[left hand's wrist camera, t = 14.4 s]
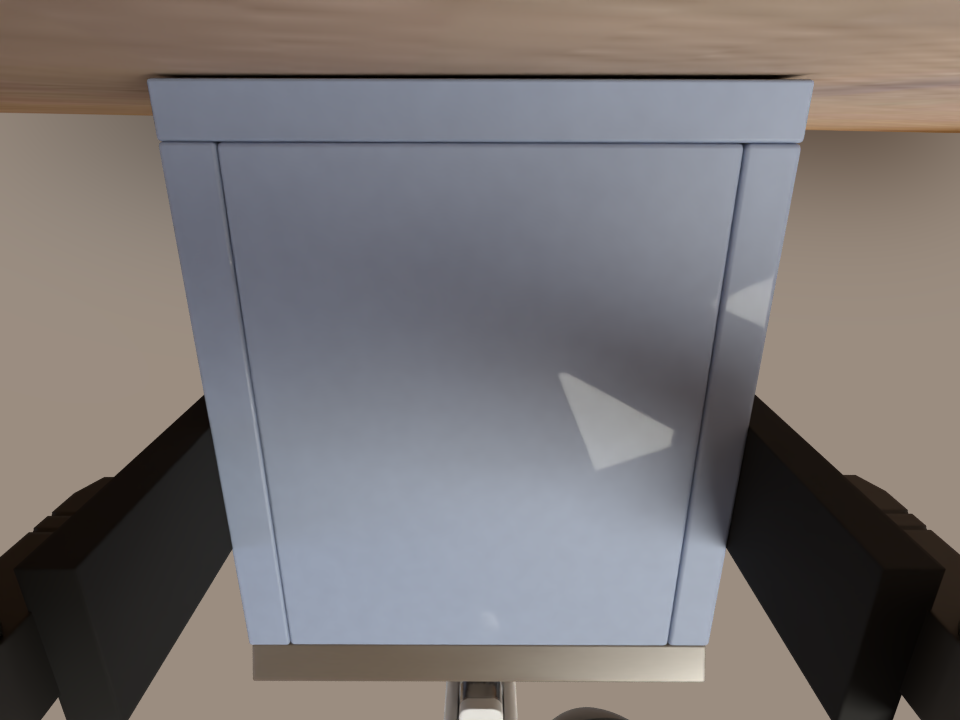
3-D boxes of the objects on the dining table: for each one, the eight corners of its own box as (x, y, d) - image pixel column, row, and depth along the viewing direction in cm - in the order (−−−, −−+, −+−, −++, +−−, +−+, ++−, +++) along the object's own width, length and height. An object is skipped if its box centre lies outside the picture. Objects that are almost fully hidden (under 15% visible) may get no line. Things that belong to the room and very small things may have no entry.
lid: (582, 479, 28) (581, 647, 28) (376, 479, 28) (377, 646, 28) (706, 645, 12) (701, 1008, 13) (251, 643, 12) (255, 1005, 13)
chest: (609, 118, 22) (589, 382, 26) (352, 117, 22) (370, 381, 26) (816, 79, 8) (709, 647, 12) (144, 77, 8) (248, 646, 12)
